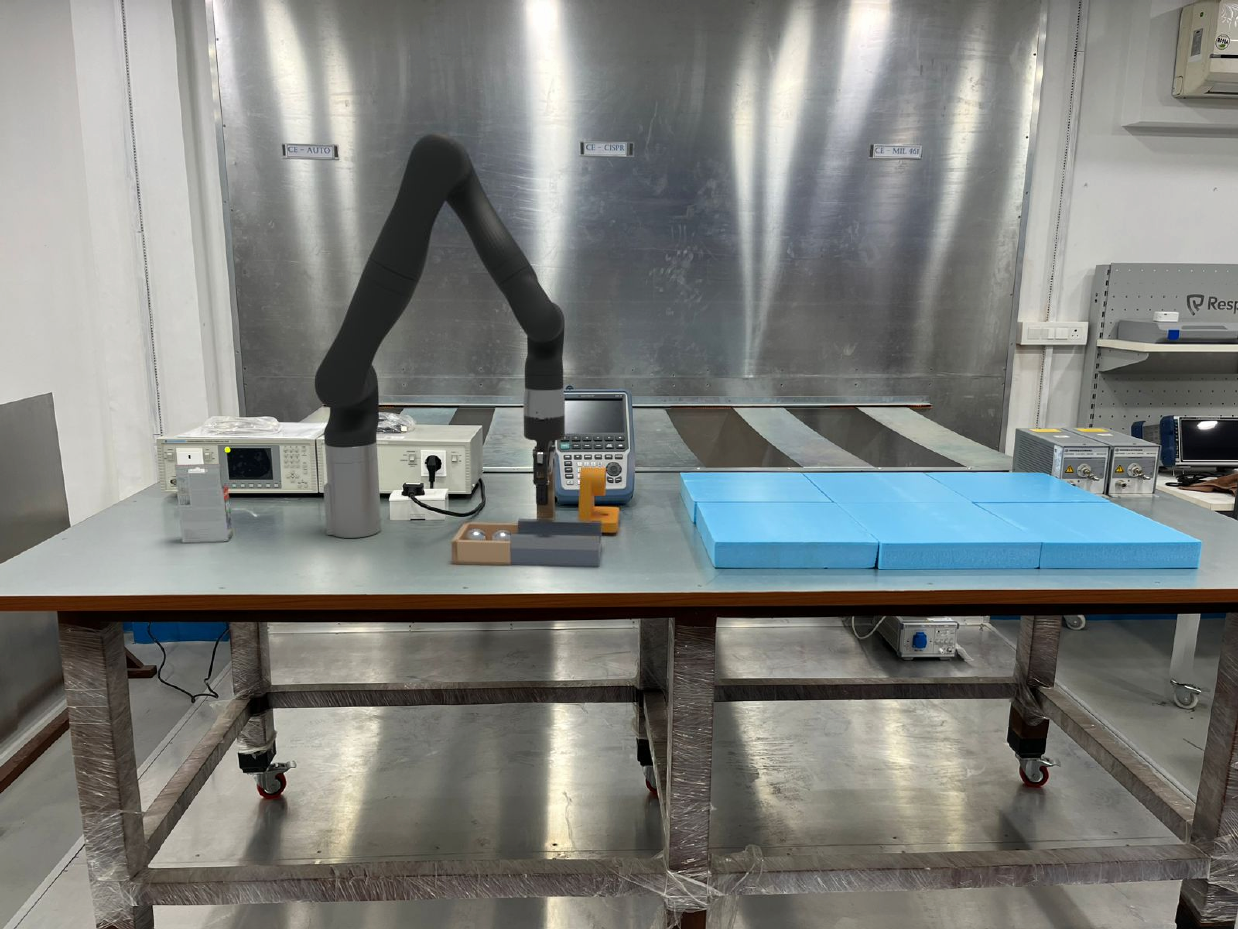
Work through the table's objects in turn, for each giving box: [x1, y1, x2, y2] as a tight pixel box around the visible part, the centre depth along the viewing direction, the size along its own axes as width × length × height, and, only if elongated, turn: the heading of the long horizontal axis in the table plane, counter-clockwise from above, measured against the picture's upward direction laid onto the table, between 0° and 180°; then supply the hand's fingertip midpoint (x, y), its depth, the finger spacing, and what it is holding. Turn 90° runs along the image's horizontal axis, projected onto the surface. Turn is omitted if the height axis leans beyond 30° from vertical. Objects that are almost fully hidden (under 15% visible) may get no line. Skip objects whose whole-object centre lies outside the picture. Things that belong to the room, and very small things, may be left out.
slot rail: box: [510, 518, 603, 568], centre depth 148 cm, size 15×10×5 cm
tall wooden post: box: [535, 462, 556, 519], centre depth 158 cm, size 3×6×14 cm, turn 179°
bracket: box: [577, 466, 620, 534], centre depth 164 cm, size 11×7×12 cm, turn 177°
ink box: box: [174, 463, 234, 544], centre depth 152 cm, size 4×8×15 cm, turn 100°
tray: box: [450, 521, 518, 566], centre depth 148 cm, size 10×11×4 cm
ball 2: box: [491, 530, 511, 541], centre depth 148 cm, size 4×4×4 cm
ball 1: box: [464, 529, 487, 541], centre depth 148 cm, size 4×4×4 cm
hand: (544, 498), depth 158 cm, fingers open, 7 cm apart
